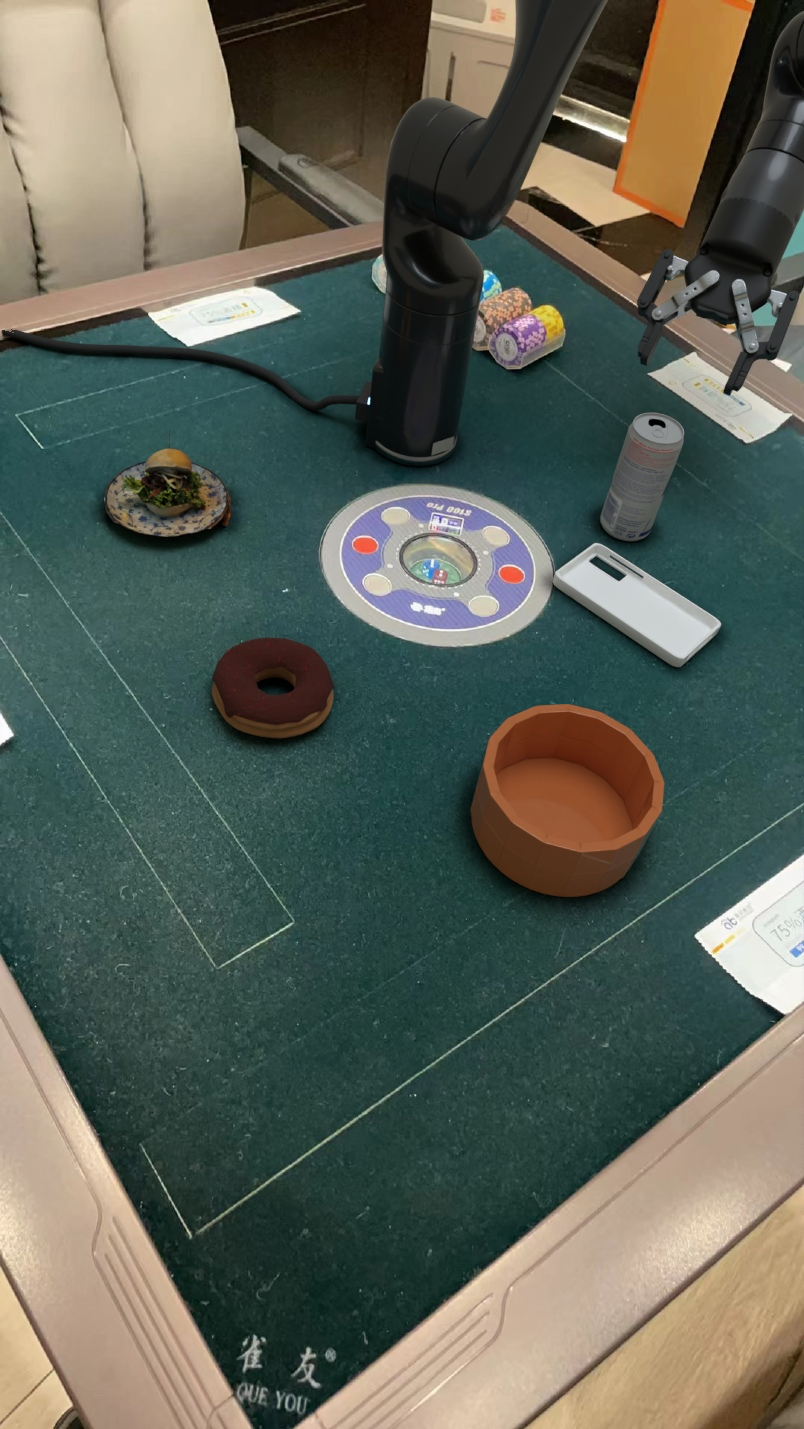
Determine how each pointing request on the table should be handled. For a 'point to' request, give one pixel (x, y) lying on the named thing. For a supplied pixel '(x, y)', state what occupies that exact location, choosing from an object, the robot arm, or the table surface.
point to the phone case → (638, 605)
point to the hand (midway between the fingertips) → (684, 377)
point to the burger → (167, 496)
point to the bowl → (565, 799)
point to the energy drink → (641, 476)
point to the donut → (272, 712)
